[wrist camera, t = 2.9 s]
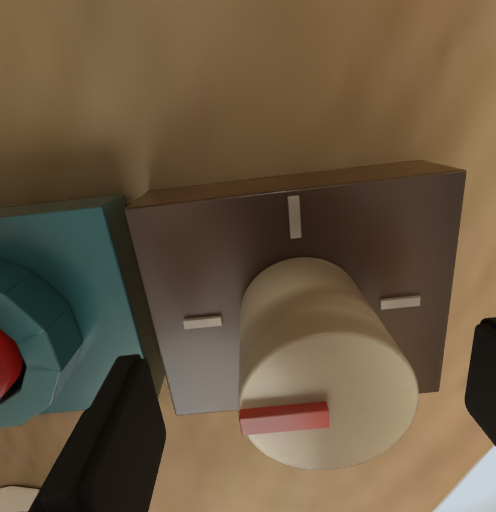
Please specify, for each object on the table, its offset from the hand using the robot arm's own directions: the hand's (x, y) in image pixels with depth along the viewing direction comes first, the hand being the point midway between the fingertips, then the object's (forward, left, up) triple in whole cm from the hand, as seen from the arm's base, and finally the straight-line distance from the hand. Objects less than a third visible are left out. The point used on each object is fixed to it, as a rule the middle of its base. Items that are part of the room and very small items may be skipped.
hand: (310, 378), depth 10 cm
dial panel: (0, 0, -6) cm, 6 cm away
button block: (+12, 0, -6) cm, 13 cm away
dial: (0, 0, -3) cm, 3 cm away
